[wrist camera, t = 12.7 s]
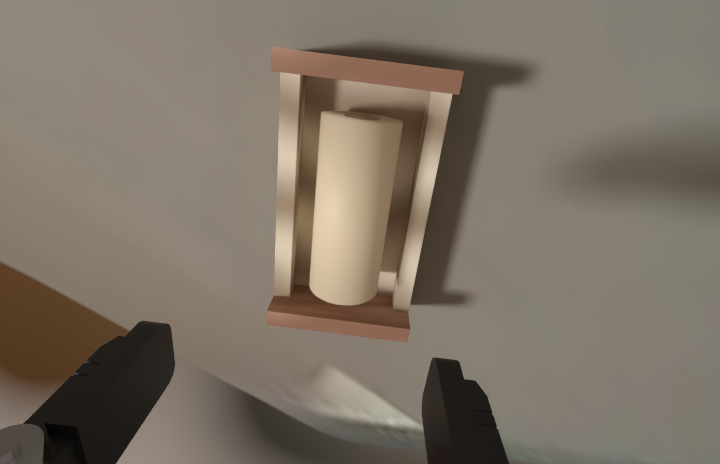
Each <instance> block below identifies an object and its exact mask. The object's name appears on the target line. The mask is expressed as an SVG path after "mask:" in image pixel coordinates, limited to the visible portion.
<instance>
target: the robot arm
mask: <svg viewBox="0 0 720 464" xmlns="http://www.w3.org/2000/svg"><path fill="white" fill-rule="evenodd" d="M174 367H175V360H174V351H173V342H172V333H171V327H170V325H169V324H165V323H157V322H149V321H141V322H139V323H138V324H137V325H136V326H135V327H134V328H133V329H132V330H131V331H130V332H129V333H128V334H127V336H125V337H123V336H118V337H116V338H115V339H113V340H112V341H110V342H108V343H106V344H104V345H103V346H101V347H100V348H99V349H98V350H97V351H96V352H95V353H94V354H93V355H92V356H91V357H90V358H89V359H88V360H87V361H86V363H85V364H83V365H82V366H81V367H80V368H79V369H78V370H77V371H76V372H75V373H74V376H71V377H70V378H69V379H68V380H67V381H66V382H65V383H64V384H63V385H62V386H61V387H60V388H59V389H58V390H57V391H56V392H55V393H54V394H53V395H52V396H51V397H50V398H49V399H48V400H47V401H46V402H45V403H44V404H43V405H42V406H41V407H40V408H39V409H38V410H37V411H36V412H35V413H34V414H33V415H32V416H31V417H30V418H29V419H28V420H27V421H26V422H25V423H23V424H19V425H13V426H10V427H6V428H3V429H1V430H0V464H116V463H117V461H118V460H119V458H120V457H121V455H122V454H123V452H124V450H125V449H126V448H127V446H128V444H129V443H130V442H131V440H132V439H133V437H134V435H135V434H136V433H137V431H138V429H139V428H140V427H141V425H142V424H143V422H144V421H145V419H146V417H147V416H148V415H149V413H150V411H151V410H152V408H153V407H154V405H155V404H156V402H157V401H158V399H159V398H160V396H161V395H162V393H163V392H164V390H165V389H166V387H167V386H168V384H169V383H170V380H171V378H172V376H173V372H174ZM422 419H423V428H424V436H425V444H426V452H427V461H428V464H509V462H508V459H507V456H506V453H505V450H504V447H503V444H502V441H501V438H500V435H499V431H498V429H497V428H496V427H497V425H496V422H495V419H494V416H493V415H492V410H491V407H490V404H489V401H488V398H487V395H486V394H485V393H484V391H483V390H482V389H481V388H480V386H479V385H478V384H477V382H476V381H473V380H465V379H464V377H463V374H462V370H461V366H460V363H459V361H457V360H450V359H442V358H433V359H432V361H431V364H430V368H429V372H428V376H427V380H426V384H425V388H424V392H423V398H422Z"/></svg>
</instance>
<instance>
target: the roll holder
mask: <svg viewBox="0 0 720 464" xmlns="http://www.w3.org/2000/svg"><path fill="white" fill-rule="evenodd" d="M272 71H275V72H280V107H279V141H278V176H277V211H276V246H275V280H274V297H273V299H272V301H271V303H270V305H269V307H268V310H267V325H274V326H282V327H290V328H298V329H305V330H313V331H321V332H329V333H337V334H344V335H352V336H360V337H368V338H376V339H383V340H391V341H399V342H407V341H408V337H409V332H410V325H409V316H408V311H409V306H410V301H411V297H412V292H413V287H414V282H415V277H416V272H417V267H418V262H419V257H420V252H421V247H422V242H423V237H424V232H425V228H426V223H427V218H428V213H429V208H430V203H431V198H432V193H433V188H434V183H435V178H436V173H437V168H438V164H439V159H440V154H441V149H442V144H443V139H444V134H445V129H446V124H447V119H448V114H449V109H450V104H451V100H452V95H453V94H456V95H459V94H460V89H461V84H462V79H463V74H464V71H458V70H450V69H442V68H434V67H426V66H418V65H410V64H403V63H395V62H387V61H379V60H371V59H363V58H355V57H348V56H340V55H332V54H324V53H316V52H308V51H301V50H293V49H285V48H277V47H272ZM323 111H351V112H361V113H369V114H376V115H381V116H387V117H391V118H395V119H398V120H401V121H402V122H403V126H402V133H401V139H400V146H399V152H398V159H397V165H396V172H395V178H394V185H393V191H392V198H391V204H390V211H389V217H388V223H387V230H386V236H385V243H384V249H383V256H382V262H381V269H380V275H379V282H378V288H377V293H376V295H375V296H374V297H373V298H372V299H371V300H369V301H368V302H365V303H362V304H358V305H337V304H332V303H329V302H326V301H324V300H322V299H320V298H318V297H317V296H316V295H314V294H313V292H312V291H311V289H310V286H309V281H310V266H311V252H312V237H313V222H314V208H315V193H316V179H317V164H318V150H319V135H320V120H321V112H323Z"/></svg>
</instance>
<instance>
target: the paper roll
mask: <svg viewBox="0 0 720 464" xmlns="http://www.w3.org/2000/svg"><path fill="white" fill-rule="evenodd" d="M402 126H403V122H402V121H401V120H398V119H395V118H391V117H387V116H381V115H376V114H369V113H361V112H351V111H323V112H321V120H320V135H319V150H318V164H317V179H316V193H315V208H314V222H313V237H312V252H311V266H310V281H309V286H310V289H311V291H312V292H313V294H314V295H316V296H317V297H318V298H320V299H322V300H324V301H326V302H329V303H332V304H337V305H358V304H362V303H365V302H368V301H369V300H371V299H372V298H373V297H374V296H375V295H376V293H377V288H378V282H379V275H380V269H381V262H382V256H383V249H384V243H385V236H386V230H387V223H388V217H389V211H390V204H391V198H392V191H393V185H394V178H395V172H396V165H397V159H398V152H399V146H400V139H401V133H402Z"/></svg>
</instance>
